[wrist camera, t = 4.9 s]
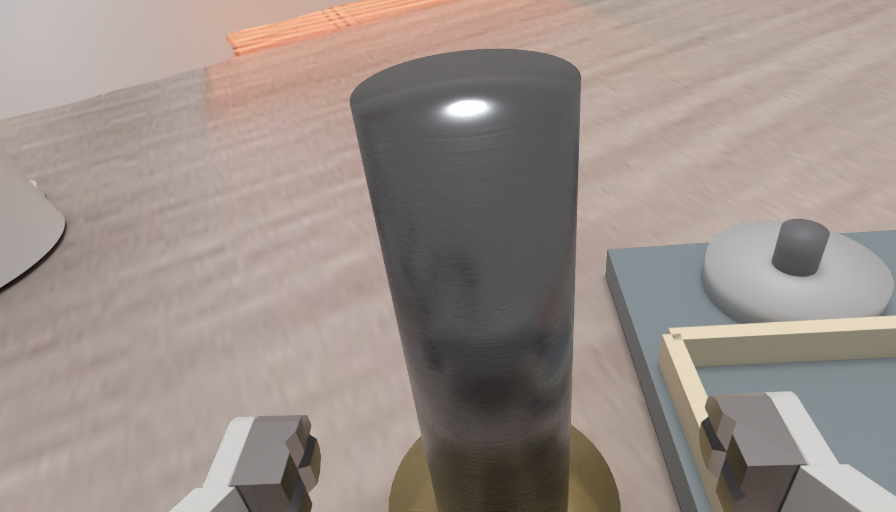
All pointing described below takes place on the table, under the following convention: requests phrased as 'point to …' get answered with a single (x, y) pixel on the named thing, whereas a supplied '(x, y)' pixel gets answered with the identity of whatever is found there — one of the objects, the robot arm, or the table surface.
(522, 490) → the stamp
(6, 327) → the table surface
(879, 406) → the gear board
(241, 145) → the table surface
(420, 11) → the table surface
